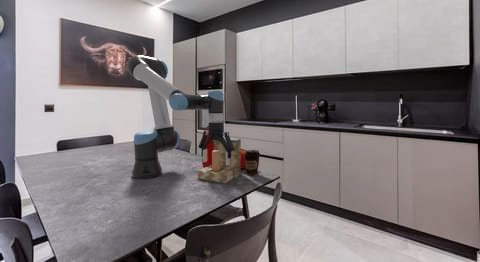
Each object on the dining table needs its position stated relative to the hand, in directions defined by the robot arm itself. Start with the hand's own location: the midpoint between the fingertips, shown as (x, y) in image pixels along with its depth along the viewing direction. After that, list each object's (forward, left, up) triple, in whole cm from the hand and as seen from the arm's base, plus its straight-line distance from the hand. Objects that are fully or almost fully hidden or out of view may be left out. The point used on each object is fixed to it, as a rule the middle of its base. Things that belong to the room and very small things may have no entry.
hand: (216, 163), depth 120 cm
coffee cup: (+14, +14, -8) cm, 21 cm away
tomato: (+2, +23, -8) cm, 24 cm away
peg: (0, 0, -8) cm, 8 cm away
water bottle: (-16, +18, -8) cm, 25 cm away
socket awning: (0, +4, -8) cm, 9 cm away
